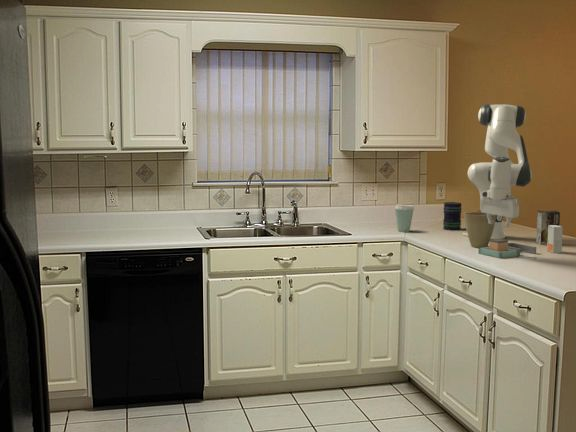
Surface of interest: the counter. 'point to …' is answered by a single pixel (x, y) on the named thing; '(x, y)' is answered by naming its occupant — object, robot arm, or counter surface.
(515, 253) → the tray
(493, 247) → the orange-topped grey box
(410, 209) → the disposable coffee cup
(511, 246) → the bay
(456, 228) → the storage jar
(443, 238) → the counter surface
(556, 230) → the skincare box
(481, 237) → the plant pot
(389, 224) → the counter surface
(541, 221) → the coffee box
